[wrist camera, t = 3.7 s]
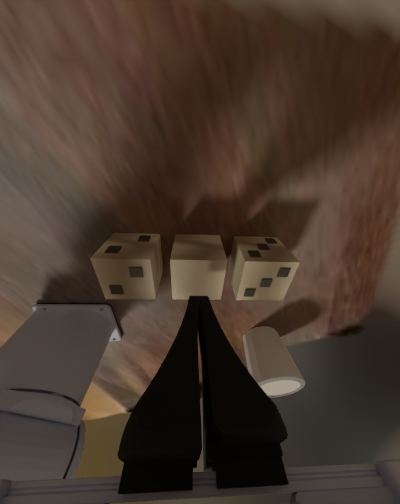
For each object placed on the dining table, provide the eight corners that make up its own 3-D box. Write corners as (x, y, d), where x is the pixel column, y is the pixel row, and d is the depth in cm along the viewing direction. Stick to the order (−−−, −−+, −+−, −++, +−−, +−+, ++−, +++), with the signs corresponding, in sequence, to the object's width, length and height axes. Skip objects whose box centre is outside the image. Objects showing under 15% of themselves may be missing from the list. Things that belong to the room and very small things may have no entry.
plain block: (176, 268, 19) (172, 299, 15) (175, 233, 16) (169, 259, 13) (215, 269, 19) (220, 299, 15) (219, 234, 17) (227, 260, 13)
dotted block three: (227, 270, 19) (236, 300, 15) (234, 234, 17) (246, 260, 13) (265, 270, 19) (283, 301, 16) (276, 235, 17) (301, 261, 13)
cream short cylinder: (251, 320, 24) (270, 375, 19) (289, 327, 26) (317, 381, 20) (231, 343, 28) (242, 396, 22) (266, 349, 29) (284, 400, 23)
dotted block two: (123, 268, 19) (105, 300, 15) (113, 231, 16) (88, 257, 12) (163, 268, 19) (155, 300, 15) (160, 232, 16) (149, 258, 12)
